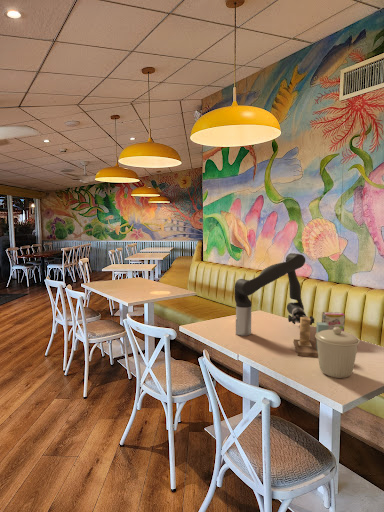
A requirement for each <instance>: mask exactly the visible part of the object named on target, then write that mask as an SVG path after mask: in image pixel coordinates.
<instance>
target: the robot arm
mask: <svg viewBox="0 0 384 512" xmlns="http://www.w3.org/2000/svg"><path fill="white" fill-rule="evenodd" d="M305 264H306V256H304V255H303V254H301V253H294V252H293V253H292V252H291V253H288V254H287V255H286V257H285V261H283V262H278V263H275V264H272V265H269V266H267V267H265V268H264V269H263V270H261V271H260V273H259V275H257V277H253V278H252V279H244V278H239V279H237V280H236V281H235V283H234V289H233V290H234V301H235V335H237V336H243V337H246V336H251V335H252V307H253V306H252V301H251V300H250V298H249V296H251V295H253V294H255V293H256V292H257V291H258V290H260V289H261V288H263V287H265V286H267V285H268V284H270V283H272V282H275V281H276V280H278V279H280V278H282V277H283V276H286V275H287V277H288V284H289V287H288V288H289V298H290V299H291V300H293V301H297V302H289V303H287V304H286V305H287V306H286V310H287V312H288V313H289V314H288V316H287V317H288V319H287V321H288V322H289V323H292V324H293V325H296V323H297V324H298V323H299V324H300V317H309V318H310V326H312V325H313V324H315V318H314V316H313V315H310V316H307V314H306V313H305V308H304V304H303V302H302V301H303V300H302V292H301V291H302V289H301V284H300V280H299V279H298V276H297V274H296V271H297V270H299V269H300V268H302V267H303V266H304V265H305Z"/></svg>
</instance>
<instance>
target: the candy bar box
mask: <svg viewBox="0 0 384 512" xmlns="http://www.w3.org/2000/svg"><path fill="white" fill-rule="evenodd" d="M321 316H322V317H321V322H323V323H327V325H328V330H333V328H335V327H339V328H341V330H342V331H345V325H346V324H345V323H346V322H345V319H346V314H344V313H343V312H338V311H336V312H333V311H331V312H330V311H322V315H321Z"/></svg>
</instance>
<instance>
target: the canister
mask: <svg viewBox="0 0 384 512" xmlns="http://www.w3.org/2000/svg"><path fill="white" fill-rule="evenodd" d="M314 337H315V339H316V338H317V348H318V357H317V358H318V365H319V369H320V371H321V372H322V373H323V374H324V375H327V376H328V377H332V378H336V379H345V378H348V377H350V376H351V375H352V373H353V371H354V367H355V362H356V355H357V351H358V345H359V344H360V341H361V340H360V339H359V337H357V336H355V335H354V334H353V333H350V332H347V331H345V330H344V331H342V330H341V328H339V327H335V328H333V330H323V331H320V332H318V333H316V332H315V335H314Z"/></svg>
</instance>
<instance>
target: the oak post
mask: <svg viewBox="0 0 384 512" xmlns="http://www.w3.org/2000/svg"><path fill="white" fill-rule="evenodd" d="M309 317H310V316H307V317H300V323H299V340H300V344H301V345H310V340H311V325H310V318H309Z"/></svg>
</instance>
